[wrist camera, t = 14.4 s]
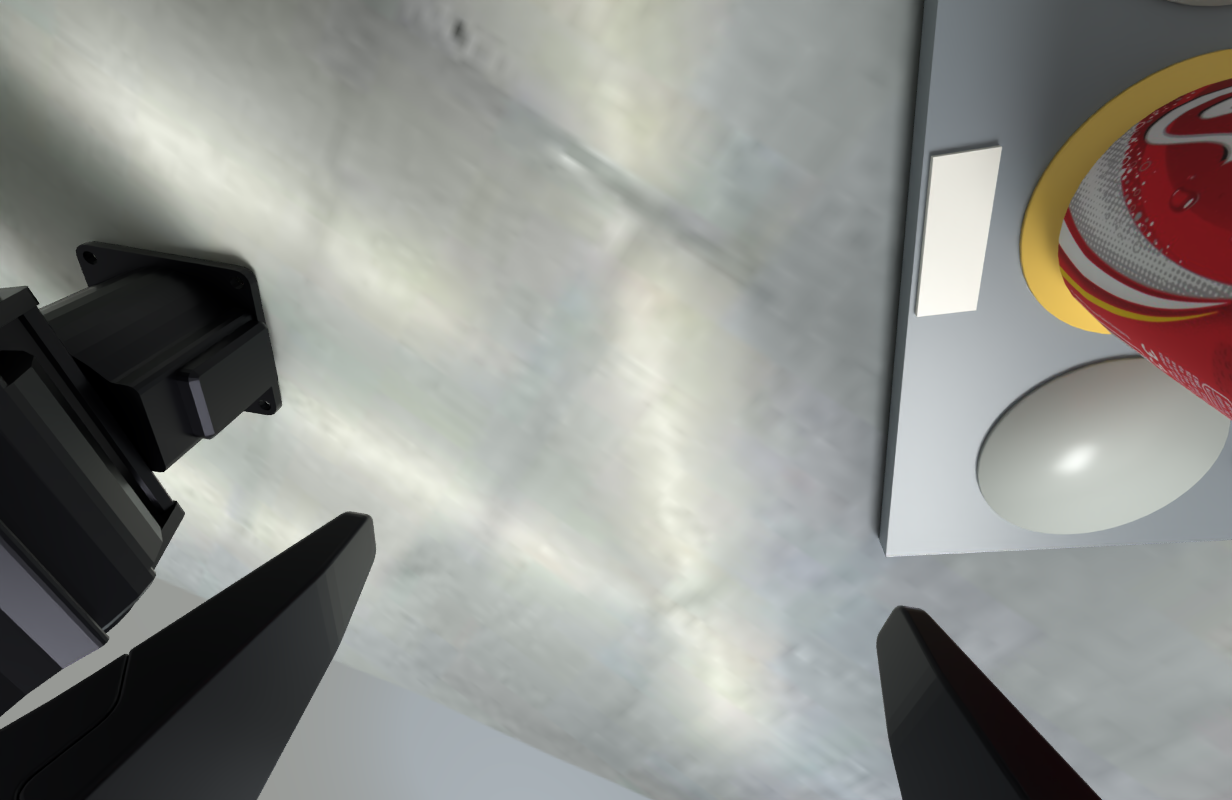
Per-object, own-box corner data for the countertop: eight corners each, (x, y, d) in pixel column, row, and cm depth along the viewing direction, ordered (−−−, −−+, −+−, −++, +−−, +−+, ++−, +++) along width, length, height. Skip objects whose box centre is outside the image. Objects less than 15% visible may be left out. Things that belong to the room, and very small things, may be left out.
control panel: (1241, 520, 24) (1288, 561, 22) (879, 539, 26) (894, 578, 24) (1897, -748, 9) (2191, -933, 8) (962, -452, 12) (1014, -539, 10)
